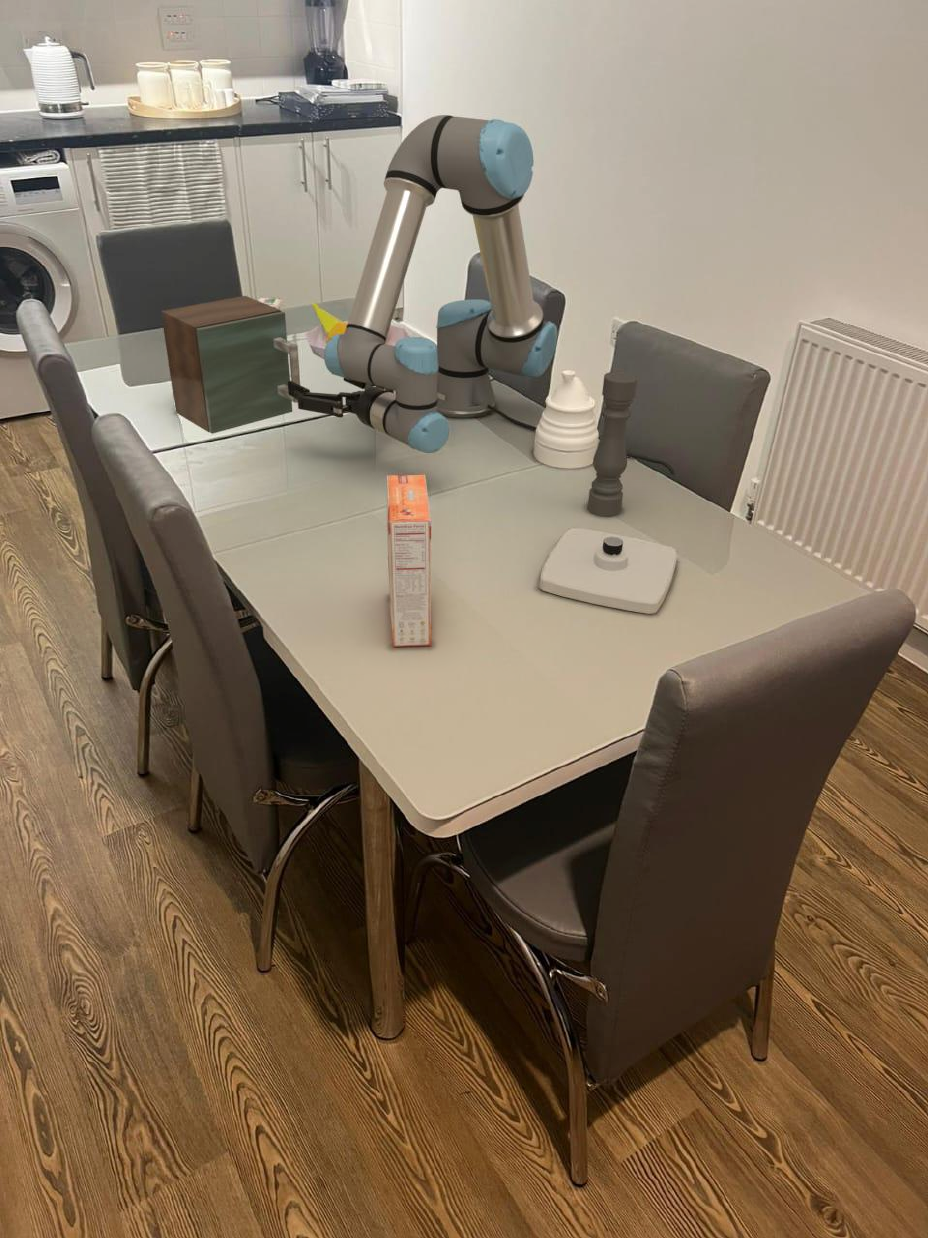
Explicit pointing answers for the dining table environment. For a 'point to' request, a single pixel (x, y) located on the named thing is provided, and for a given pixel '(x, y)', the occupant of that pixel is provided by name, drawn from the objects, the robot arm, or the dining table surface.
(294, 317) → the dining table surface
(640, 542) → the showerhead
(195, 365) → the cupboard
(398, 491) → the cracker box
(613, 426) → the candle holder
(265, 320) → the cupboard door
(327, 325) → the fruit bowl
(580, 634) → the dining table surface
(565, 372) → the honey pot
